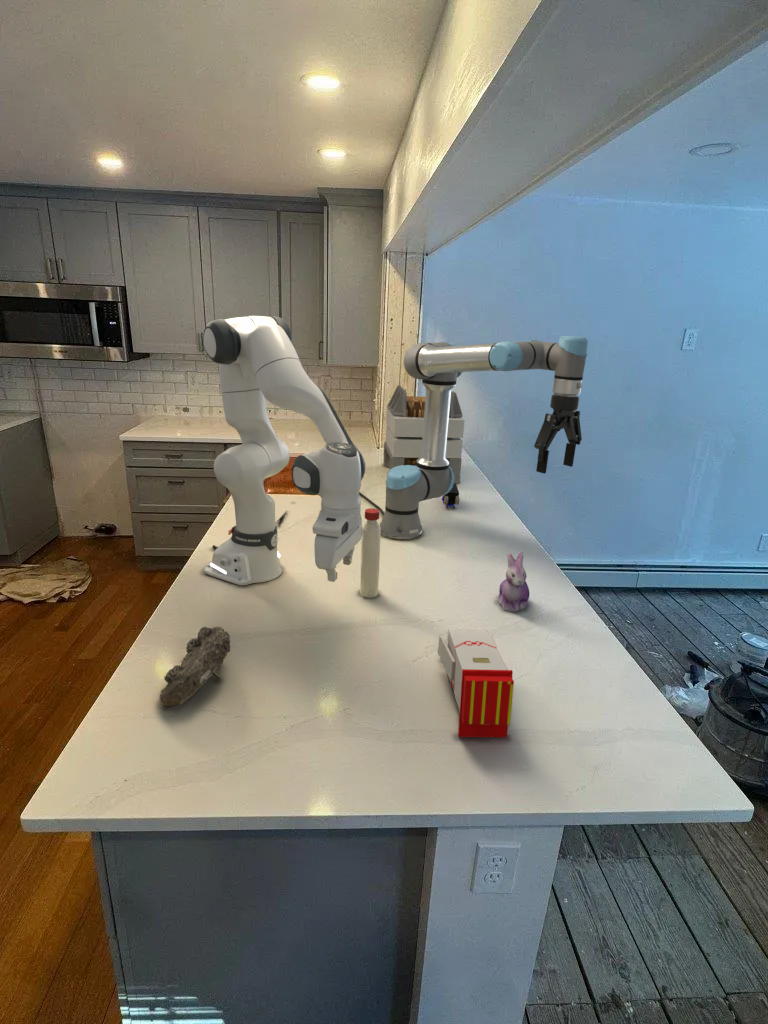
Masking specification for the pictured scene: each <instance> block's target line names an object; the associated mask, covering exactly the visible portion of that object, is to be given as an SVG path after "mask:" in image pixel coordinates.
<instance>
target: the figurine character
mask: <svg viewBox="0 0 768 1024" xmlns="http://www.w3.org/2000/svg"><path fill="white" fill-rule="evenodd" d="M441 501H442V504H443V505H445V508H446V509H449V507H452V509H456V506H459V504H460V491H459V489H458V486H457V483H454V484H453V487H452V489H451V490H450V491H449V492H448V493H447V494H445V495H443V496H441Z"/></svg>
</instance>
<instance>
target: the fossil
mask: <svg viewBox="0 0 768 1024" xmlns="http://www.w3.org/2000/svg"><path fill="white" fill-rule="evenodd" d="M231 648H232V647H231V635H230V633H229V631H225V630H224V628H223V627H222V626H215V627H214V626H213V627H212V628H211V627H207V626H202V627H200V629H199V631H198V633H197V637H195V638H191V639H189V640H188V641H187V643H186V654H185V656H184V657H183V660H182V661H181V663H180V665H178V664H177V665H174V666H173V667H172V668H171V669H170V670H168V672H166V673H165V675H164V678H163V679H164V681H165V682H166V683H167V684H166V685H165V687H164V688H162V689H161V690H160V694H159V700H160V703H161V705H165V706H167V707H173V706H178V705H183V704H184V703H185V702H186V701H187V700H188V699H190V697H192V696H193V695H194V694H195V693H196V692H197V691H199V690H200V689H201V688H202V687H203V686H204V685H205V684H206V682H207V681H208V679H209V678H210V677H212V675H213V677H215V678H216V680H220V679H221V677H219V675H218V674H216V672H215V671H216V669H217V668H220V667H221V666H222V665H223V663H224V661H225V658H226V657H227V655H228V654H229V653H230V652H231Z"/></svg>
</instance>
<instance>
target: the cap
mask: <svg viewBox="0 0 768 1024" xmlns="http://www.w3.org/2000/svg"><path fill="white" fill-rule="evenodd" d="M364 519H365V520H366V521H367V520H372V521H373V520H377V521H378V520H379V519H380V510H379V509H378V508H374V507H373V508H372V507H371V508H366V509H364Z"/></svg>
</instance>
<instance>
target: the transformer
mask: <svg viewBox="0 0 768 1024" xmlns="http://www.w3.org/2000/svg"><path fill="white" fill-rule="evenodd" d="M407 394H408V393H407V390H406V389H404V388H403V387H402V385H399V384H398V385H397V386H396V388H395V390H394V392H393V394H392V395H391V398H390V400H389V402H388V404H387V405H386V413H385V414H386V415H385V423H386V428H385V438H384V442H383V466H384V467H388V468H389V470H390V469H392V468H394V467H396V466H401V465H404V466H405V465H413V466H416V462H417V459H418V458H420V457H421V452H422V438H423V424H424V410H425V397H426V396H415V395H414V396H413V395H412V396H411V395H407ZM464 429H465V419H464V418H463V411H462V408H461V405H460V402H459V398H458V395H457V392H455V391H453V390H451V398H450V410H449V421H448V432H447V444H446V455H445V458H446V459H447V461H448V462H449V466H450V467H451V469H452V473H454V483H455V484H459V483H461V472H462V461H463V460H462V453H463V442H464V441H463V440H462V439H463V438H464V431H465V430H464Z"/></svg>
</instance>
